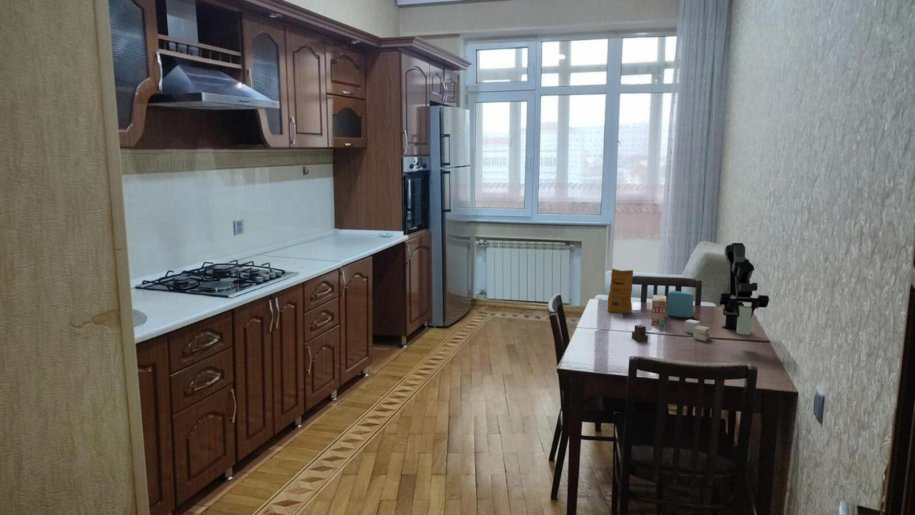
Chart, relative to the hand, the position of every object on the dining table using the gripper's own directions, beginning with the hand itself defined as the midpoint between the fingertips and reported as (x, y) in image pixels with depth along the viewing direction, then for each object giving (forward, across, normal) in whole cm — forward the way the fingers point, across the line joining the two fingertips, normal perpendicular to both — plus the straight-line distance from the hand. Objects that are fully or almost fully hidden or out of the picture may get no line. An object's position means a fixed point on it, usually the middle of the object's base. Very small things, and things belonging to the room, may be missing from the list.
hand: (744, 317), depth 266 cm
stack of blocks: (-18, -33, +38) cm, 53 cm away
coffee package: (-27, -52, +47) cm, 75 cm away
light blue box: (-27, -22, +47) cm, 58 cm away
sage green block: (+4, 0, +6) cm, 7 cm away
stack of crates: (+9, -40, +11) cm, 43 cm away
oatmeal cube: (+2, -15, +17) cm, 23 cm away
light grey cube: (-6, -18, +25) cm, 32 cm away
